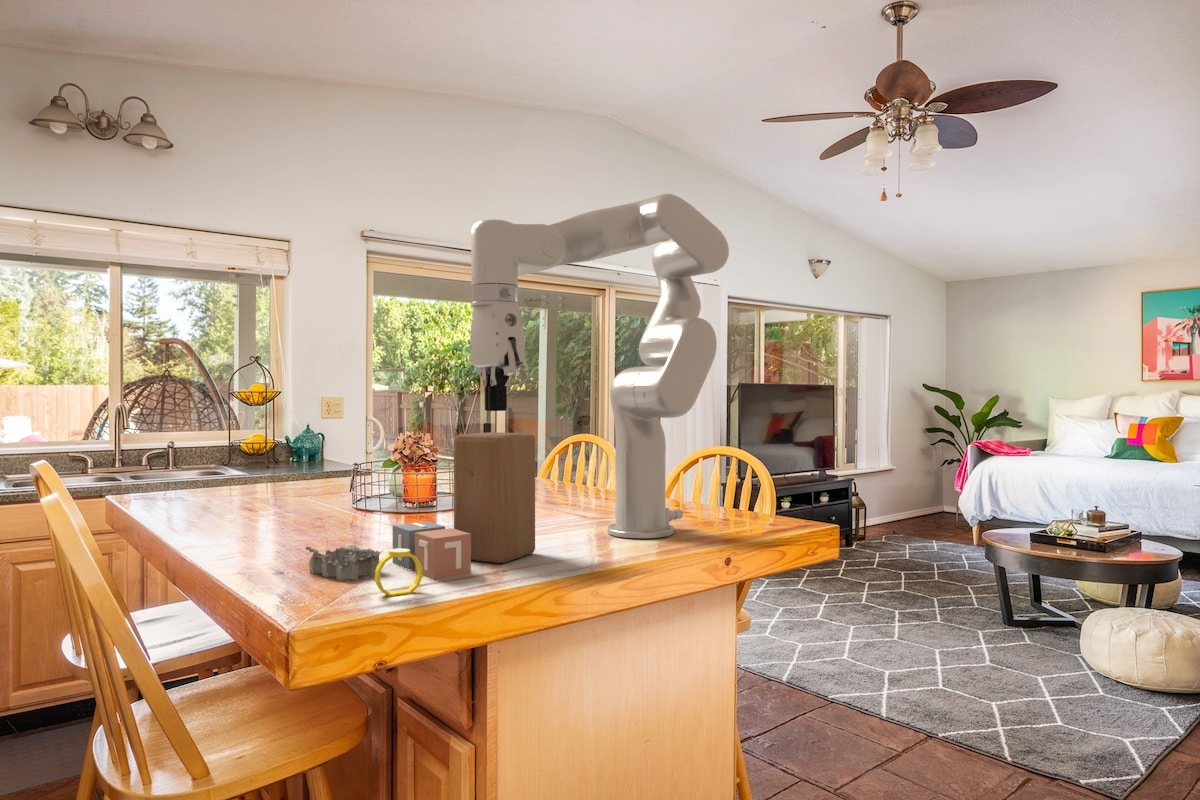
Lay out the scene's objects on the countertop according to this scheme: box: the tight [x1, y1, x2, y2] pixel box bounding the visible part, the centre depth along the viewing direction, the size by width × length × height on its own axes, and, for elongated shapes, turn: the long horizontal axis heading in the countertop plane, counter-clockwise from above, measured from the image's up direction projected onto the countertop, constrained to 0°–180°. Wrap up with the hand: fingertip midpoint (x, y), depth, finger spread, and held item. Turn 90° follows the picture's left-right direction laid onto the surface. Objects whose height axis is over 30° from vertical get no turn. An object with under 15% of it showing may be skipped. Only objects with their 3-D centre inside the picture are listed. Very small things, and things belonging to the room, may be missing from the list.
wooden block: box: [453, 431, 536, 564], centre depth 122 cm, size 10×10×20 cm
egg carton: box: [305, 544, 383, 581], centre depth 112 cm, size 11×8×4 cm
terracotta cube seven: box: [414, 527, 472, 581], centre depth 111 cm, size 6×6×6 cm
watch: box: [374, 548, 423, 597], centre depth 99 cm, size 6×3×6 cm, turn 121°
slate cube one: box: [392, 521, 446, 571], centre depth 117 cm, size 6×6×6 cm
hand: (495, 410), depth 122 cm, fingers closed
